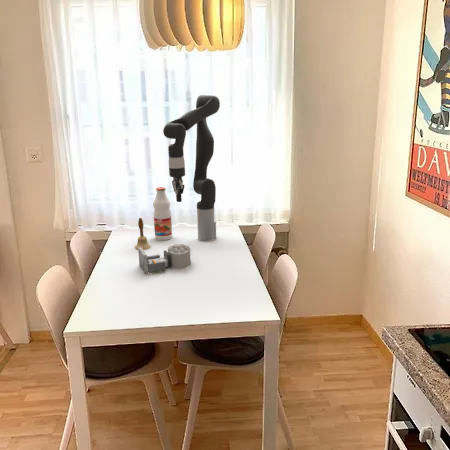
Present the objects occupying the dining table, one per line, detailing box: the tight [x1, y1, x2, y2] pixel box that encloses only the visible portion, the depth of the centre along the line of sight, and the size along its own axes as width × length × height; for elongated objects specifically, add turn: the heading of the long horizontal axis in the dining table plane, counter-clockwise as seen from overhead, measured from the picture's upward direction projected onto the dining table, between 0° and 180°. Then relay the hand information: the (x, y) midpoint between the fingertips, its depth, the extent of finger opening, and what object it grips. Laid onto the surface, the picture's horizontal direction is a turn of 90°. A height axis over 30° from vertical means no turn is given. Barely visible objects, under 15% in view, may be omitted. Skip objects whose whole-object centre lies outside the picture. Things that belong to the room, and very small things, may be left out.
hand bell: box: [134, 217, 152, 251], centre depth 255 cm, size 8×8×16 cm
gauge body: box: [137, 247, 166, 275], centre depth 227 cm, size 10×14×9 cm
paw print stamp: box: [167, 243, 192, 270], centre depth 232 cm, size 10×13×9 cm
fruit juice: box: [152, 186, 173, 241], centre depth 268 cm, size 9×9×28 cm
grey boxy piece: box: [147, 250, 171, 268], centre depth 227 cm, size 9×11×6 cm
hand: (179, 201), depth 240 cm, fingers closed
